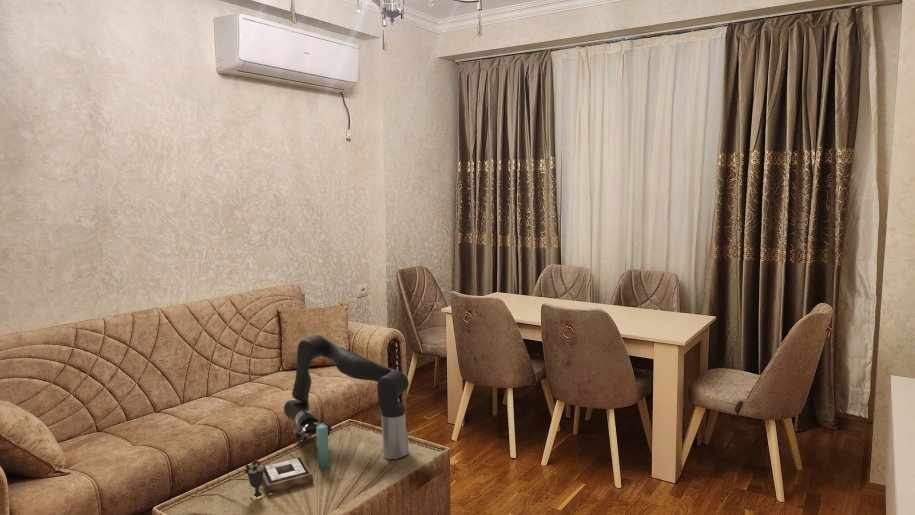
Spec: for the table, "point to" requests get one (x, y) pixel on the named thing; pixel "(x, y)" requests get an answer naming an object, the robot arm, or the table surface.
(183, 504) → the table surface
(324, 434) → the peg
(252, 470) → the sundae
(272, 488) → the box
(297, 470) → the plate
